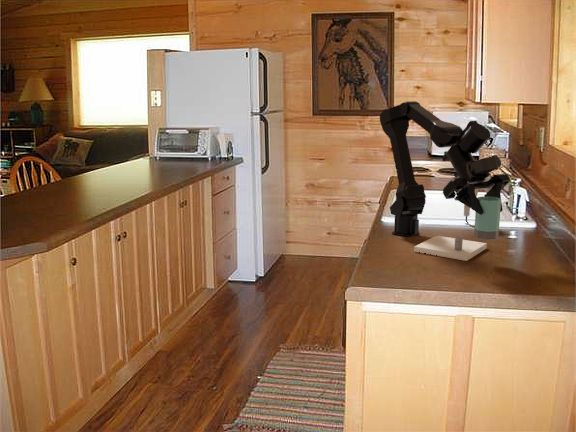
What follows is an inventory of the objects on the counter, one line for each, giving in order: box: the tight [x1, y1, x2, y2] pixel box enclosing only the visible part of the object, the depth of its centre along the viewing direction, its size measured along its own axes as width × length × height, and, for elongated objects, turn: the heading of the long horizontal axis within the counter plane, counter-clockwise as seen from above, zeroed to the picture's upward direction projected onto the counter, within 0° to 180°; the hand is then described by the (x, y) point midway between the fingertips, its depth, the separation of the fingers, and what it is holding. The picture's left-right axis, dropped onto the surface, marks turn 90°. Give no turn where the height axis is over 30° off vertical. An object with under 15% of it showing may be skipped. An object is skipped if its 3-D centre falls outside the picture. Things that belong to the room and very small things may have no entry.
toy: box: [463, 189, 479, 224], centre depth 202 cm, size 9×7×15 cm
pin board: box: [413, 235, 488, 262], centre depth 172 cm, size 15×15×5 cm
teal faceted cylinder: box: [473, 196, 502, 240], centre depth 159 cm, size 6×6×10 cm
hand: (491, 212), depth 157 cm, fingers closed on teal faceted cylinder, 6 cm apart
